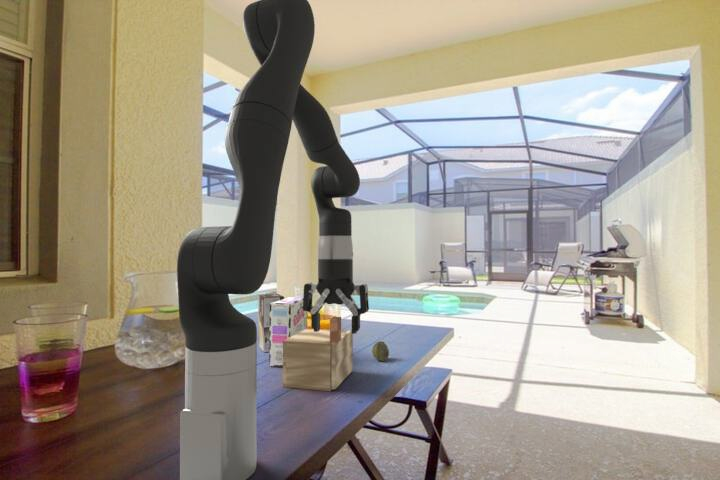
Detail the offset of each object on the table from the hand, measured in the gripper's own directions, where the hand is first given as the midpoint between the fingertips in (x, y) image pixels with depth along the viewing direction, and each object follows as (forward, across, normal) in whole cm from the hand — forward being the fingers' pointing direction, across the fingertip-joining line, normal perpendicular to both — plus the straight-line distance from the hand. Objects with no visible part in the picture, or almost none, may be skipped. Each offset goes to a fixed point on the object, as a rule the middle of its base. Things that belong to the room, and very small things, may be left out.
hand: (335, 332), depth 88 cm
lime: (+12, +5, +24) cm, 28 cm away
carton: (+12, -6, +5) cm, 15 cm away
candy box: (+12, -19, +18) cm, 29 cm away
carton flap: (+12, 0, +5) cm, 13 cm away
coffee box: (+12, -30, +29) cm, 44 cm away
